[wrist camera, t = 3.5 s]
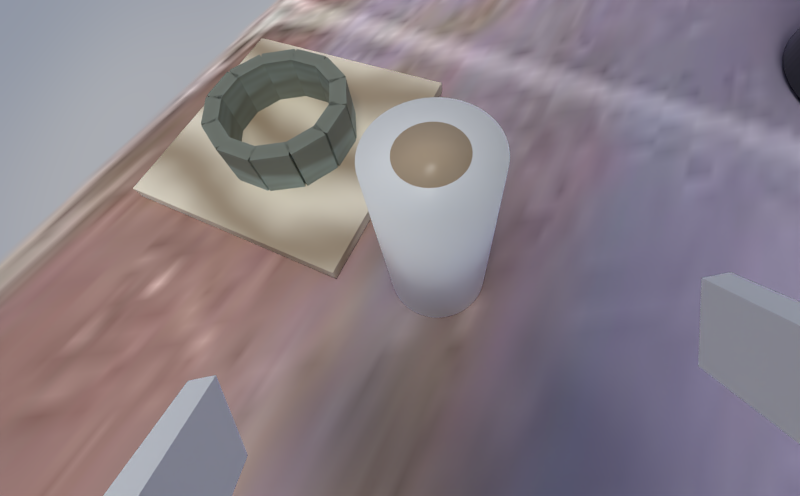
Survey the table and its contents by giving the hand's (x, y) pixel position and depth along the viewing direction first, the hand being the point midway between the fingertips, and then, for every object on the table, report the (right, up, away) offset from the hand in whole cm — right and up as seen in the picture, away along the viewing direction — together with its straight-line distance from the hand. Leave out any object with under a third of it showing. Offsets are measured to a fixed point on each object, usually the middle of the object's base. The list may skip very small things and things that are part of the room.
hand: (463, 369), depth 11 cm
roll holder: (-10, +12, +22) cm, 27 cm away
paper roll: (+1, +2, +15) cm, 15 cm away
